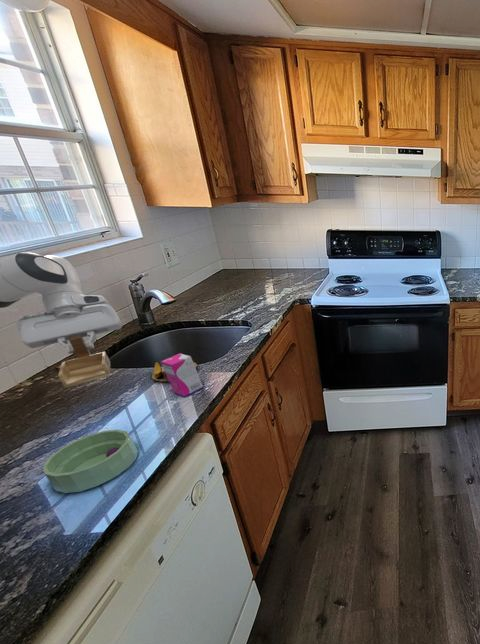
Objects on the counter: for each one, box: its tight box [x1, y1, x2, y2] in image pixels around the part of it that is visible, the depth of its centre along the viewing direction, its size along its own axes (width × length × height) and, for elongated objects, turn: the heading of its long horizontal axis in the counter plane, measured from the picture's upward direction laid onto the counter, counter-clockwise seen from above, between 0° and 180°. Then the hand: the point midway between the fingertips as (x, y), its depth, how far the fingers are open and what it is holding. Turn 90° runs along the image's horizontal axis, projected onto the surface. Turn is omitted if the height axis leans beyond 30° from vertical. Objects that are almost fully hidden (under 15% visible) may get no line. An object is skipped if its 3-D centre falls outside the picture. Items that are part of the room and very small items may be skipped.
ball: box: [106, 447, 119, 457], centre depth 85 cm, size 3×3×3 cm
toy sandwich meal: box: [151, 361, 198, 383], centre depth 121 cm, size 12×14×5 cm
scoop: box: [57, 335, 111, 388], centre depth 99 cm, size 12×9×9 cm
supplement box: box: [160, 353, 204, 398], centre depth 110 cm, size 6×6×12 cm
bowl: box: [42, 429, 139, 494], centre depth 82 cm, size 14×14×6 cm
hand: (81, 350), depth 101 cm, fingers closed on scoop, 2 cm apart
